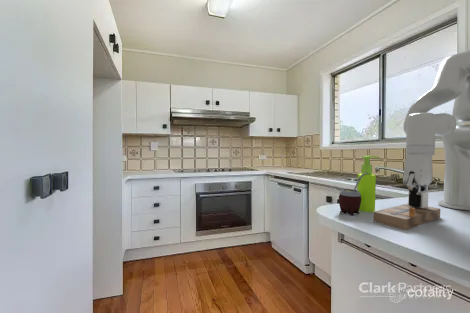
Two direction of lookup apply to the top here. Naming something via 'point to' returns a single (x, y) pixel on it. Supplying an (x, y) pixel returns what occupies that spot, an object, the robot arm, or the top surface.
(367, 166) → the soap dispenser
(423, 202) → the fader knob
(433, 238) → the top surface
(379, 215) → the fader console
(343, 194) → the mate gourd
